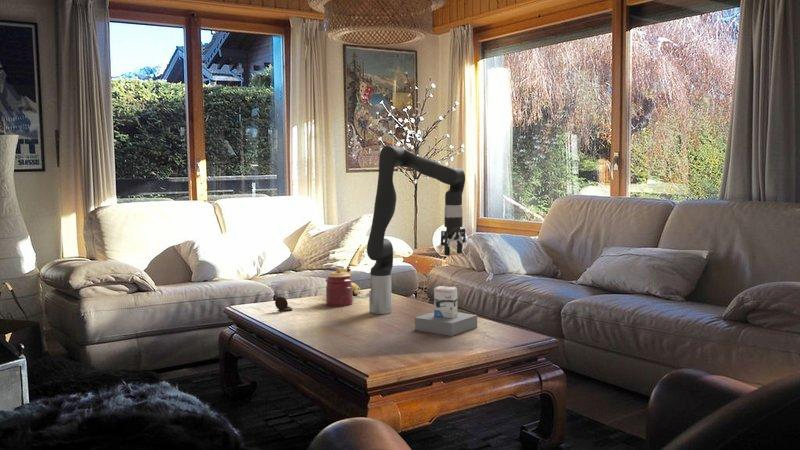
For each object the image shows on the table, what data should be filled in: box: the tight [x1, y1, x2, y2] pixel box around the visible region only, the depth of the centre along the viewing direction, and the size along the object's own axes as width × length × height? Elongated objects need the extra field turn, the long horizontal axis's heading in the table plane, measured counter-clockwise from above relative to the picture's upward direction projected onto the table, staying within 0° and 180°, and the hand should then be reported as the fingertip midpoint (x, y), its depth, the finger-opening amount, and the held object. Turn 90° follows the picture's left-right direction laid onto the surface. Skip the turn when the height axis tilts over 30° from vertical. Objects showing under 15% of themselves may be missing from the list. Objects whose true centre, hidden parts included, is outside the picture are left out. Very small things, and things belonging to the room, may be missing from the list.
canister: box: [325, 267, 354, 307], centre depth 335 cm, size 13×13×18 cm
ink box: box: [433, 285, 458, 318], centre depth 281 cm, size 8×5×12 cm, turn 65°
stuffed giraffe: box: [341, 265, 369, 299], centre depth 357 cm, size 16×18×16 cm
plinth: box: [414, 311, 478, 337], centre depth 281 cm, size 18×18×5 cm
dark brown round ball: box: [274, 296, 293, 313], centre depth 322 cm, size 8×8×7 cm
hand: (453, 254), depth 291 cm, fingers open, 8 cm apart
